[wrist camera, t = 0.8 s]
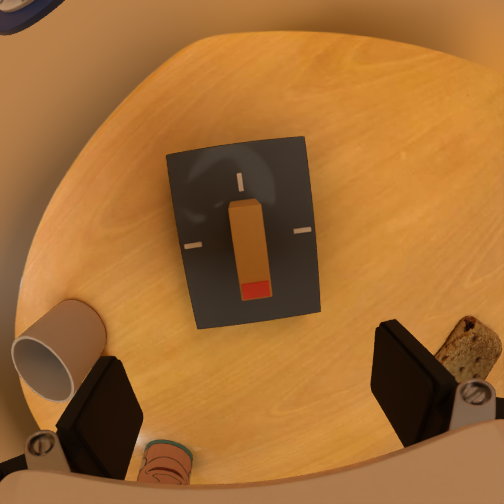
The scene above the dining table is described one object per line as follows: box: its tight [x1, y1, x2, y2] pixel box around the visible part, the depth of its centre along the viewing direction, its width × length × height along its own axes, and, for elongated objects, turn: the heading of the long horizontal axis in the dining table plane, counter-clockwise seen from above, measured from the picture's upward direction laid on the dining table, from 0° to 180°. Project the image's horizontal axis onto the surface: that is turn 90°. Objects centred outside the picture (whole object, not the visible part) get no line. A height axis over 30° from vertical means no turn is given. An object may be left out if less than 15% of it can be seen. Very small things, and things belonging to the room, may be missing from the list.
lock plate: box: [166, 136, 321, 329], centre depth 25 cm, size 15×11×3 cm
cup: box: [11, 300, 106, 403], centre depth 24 cm, size 7×10×9 cm
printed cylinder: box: [137, 440, 193, 485], centre depth 26 cm, size 7×7×15 cm
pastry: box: [435, 317, 502, 384], centre depth 31 cm, size 17×17×3 cm
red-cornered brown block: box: [228, 198, 272, 301], centre depth 21 cm, size 6×2×6 cm, turn 7°
